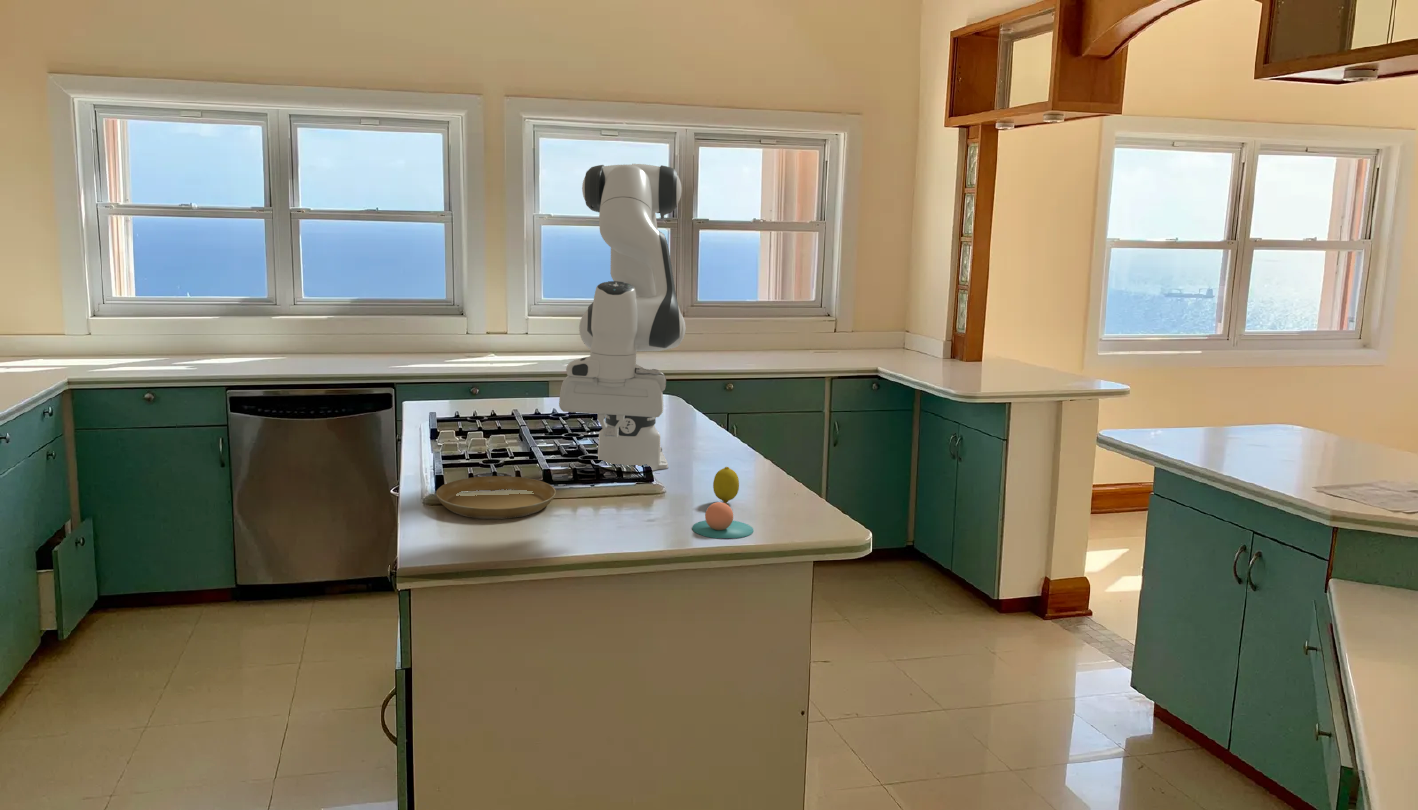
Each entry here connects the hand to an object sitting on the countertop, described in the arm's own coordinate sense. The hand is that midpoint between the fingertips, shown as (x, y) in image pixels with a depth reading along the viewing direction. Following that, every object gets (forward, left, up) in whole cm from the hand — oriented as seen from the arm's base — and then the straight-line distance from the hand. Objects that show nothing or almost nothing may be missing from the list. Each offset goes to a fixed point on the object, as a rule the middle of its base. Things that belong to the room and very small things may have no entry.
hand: (610, 436), depth 201 cm
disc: (+3, +23, -17) cm, 29 cm away
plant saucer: (-6, -24, -18) cm, 31 cm away
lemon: (-16, +23, -17) cm, 33 cm away
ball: (+3, +22, -14) cm, 26 cm away
